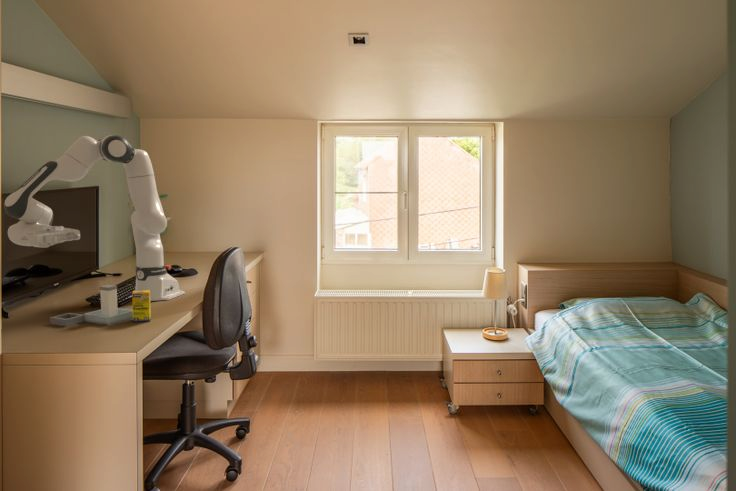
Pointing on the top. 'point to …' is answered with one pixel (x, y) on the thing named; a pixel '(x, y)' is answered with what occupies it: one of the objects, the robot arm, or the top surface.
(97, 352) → the top surface
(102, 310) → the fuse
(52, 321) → the socket
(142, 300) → the supplement box
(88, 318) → the tray
